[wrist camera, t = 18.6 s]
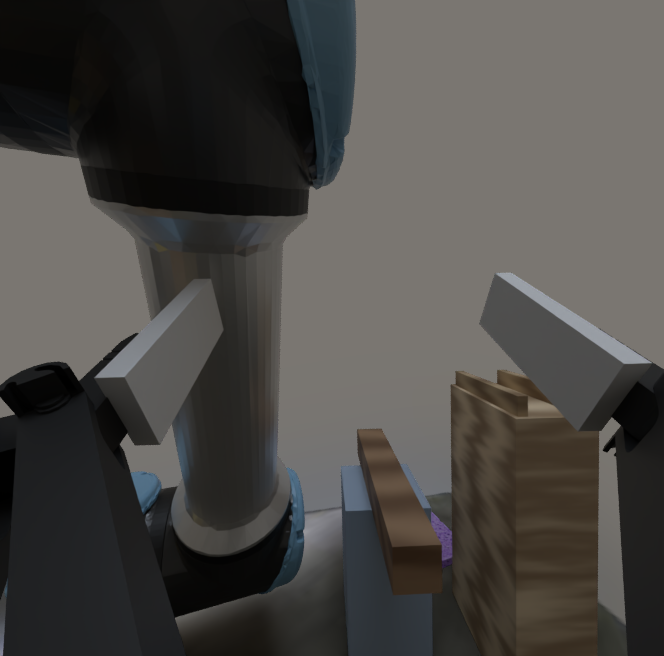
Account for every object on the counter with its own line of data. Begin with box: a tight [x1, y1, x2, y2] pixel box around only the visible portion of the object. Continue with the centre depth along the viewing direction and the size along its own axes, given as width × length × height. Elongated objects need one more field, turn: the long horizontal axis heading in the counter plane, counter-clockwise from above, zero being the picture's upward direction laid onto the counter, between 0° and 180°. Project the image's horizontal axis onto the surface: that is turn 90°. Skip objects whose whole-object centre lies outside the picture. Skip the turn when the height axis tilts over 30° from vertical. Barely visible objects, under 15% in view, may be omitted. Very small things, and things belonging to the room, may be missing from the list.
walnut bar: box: [357, 429, 442, 595], centre depth 35 cm, size 24×4×4 cm, turn 2°
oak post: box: [451, 370, 599, 656], centre depth 34 cm, size 14×8×33 cm, turn 1°
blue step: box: [341, 464, 433, 656], centre depth 38 cm, size 10×10×18 cm
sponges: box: [431, 512, 452, 568], centre depth 53 cm, size 7×13×2 cm, turn 20°
